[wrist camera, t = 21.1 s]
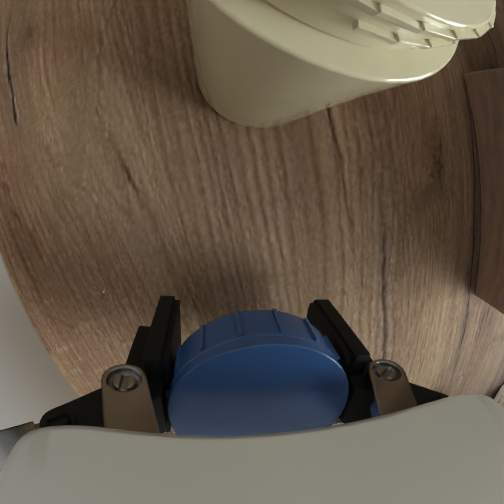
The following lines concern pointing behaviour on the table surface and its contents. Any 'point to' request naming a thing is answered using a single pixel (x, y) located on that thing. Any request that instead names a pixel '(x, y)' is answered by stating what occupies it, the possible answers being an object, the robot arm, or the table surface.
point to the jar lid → (255, 377)
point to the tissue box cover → (490, 179)
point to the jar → (320, 50)
